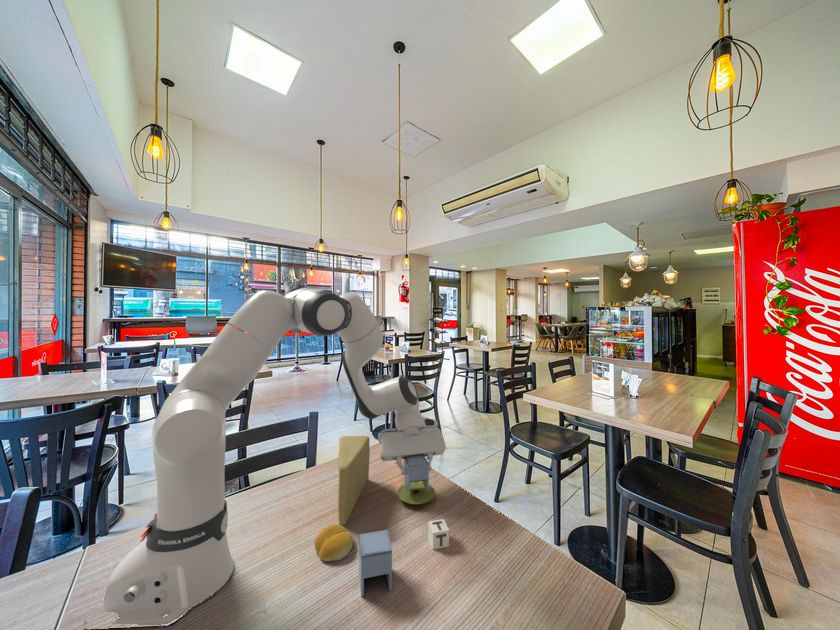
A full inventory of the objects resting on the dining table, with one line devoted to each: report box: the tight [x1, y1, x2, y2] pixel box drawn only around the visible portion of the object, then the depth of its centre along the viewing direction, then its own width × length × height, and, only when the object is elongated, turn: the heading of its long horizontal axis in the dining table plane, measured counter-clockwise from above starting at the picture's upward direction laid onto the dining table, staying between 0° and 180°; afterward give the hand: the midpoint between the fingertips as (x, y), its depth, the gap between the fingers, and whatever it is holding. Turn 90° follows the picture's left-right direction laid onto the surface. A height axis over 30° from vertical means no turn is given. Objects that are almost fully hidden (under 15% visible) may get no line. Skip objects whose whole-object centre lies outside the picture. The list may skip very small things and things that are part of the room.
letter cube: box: [427, 518, 450, 550], centre depth 75 cm, size 4×4×4 cm
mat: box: [396, 481, 436, 505], centre depth 92 cm, size 11×11×2 cm
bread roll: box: [314, 523, 354, 562], centre depth 73 cm, size 8×9×4 cm
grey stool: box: [403, 454, 430, 494], centre depth 92 cm, size 6×6×8 cm
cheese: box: [337, 435, 371, 526], centre depth 91 cm, size 22×10×15 cm, turn 4°
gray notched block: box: [358, 529, 393, 598], centre depth 64 cm, size 6×6×8 cm
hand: (416, 472), depth 91 cm, fingers closed on grey stool, 6 cm apart
